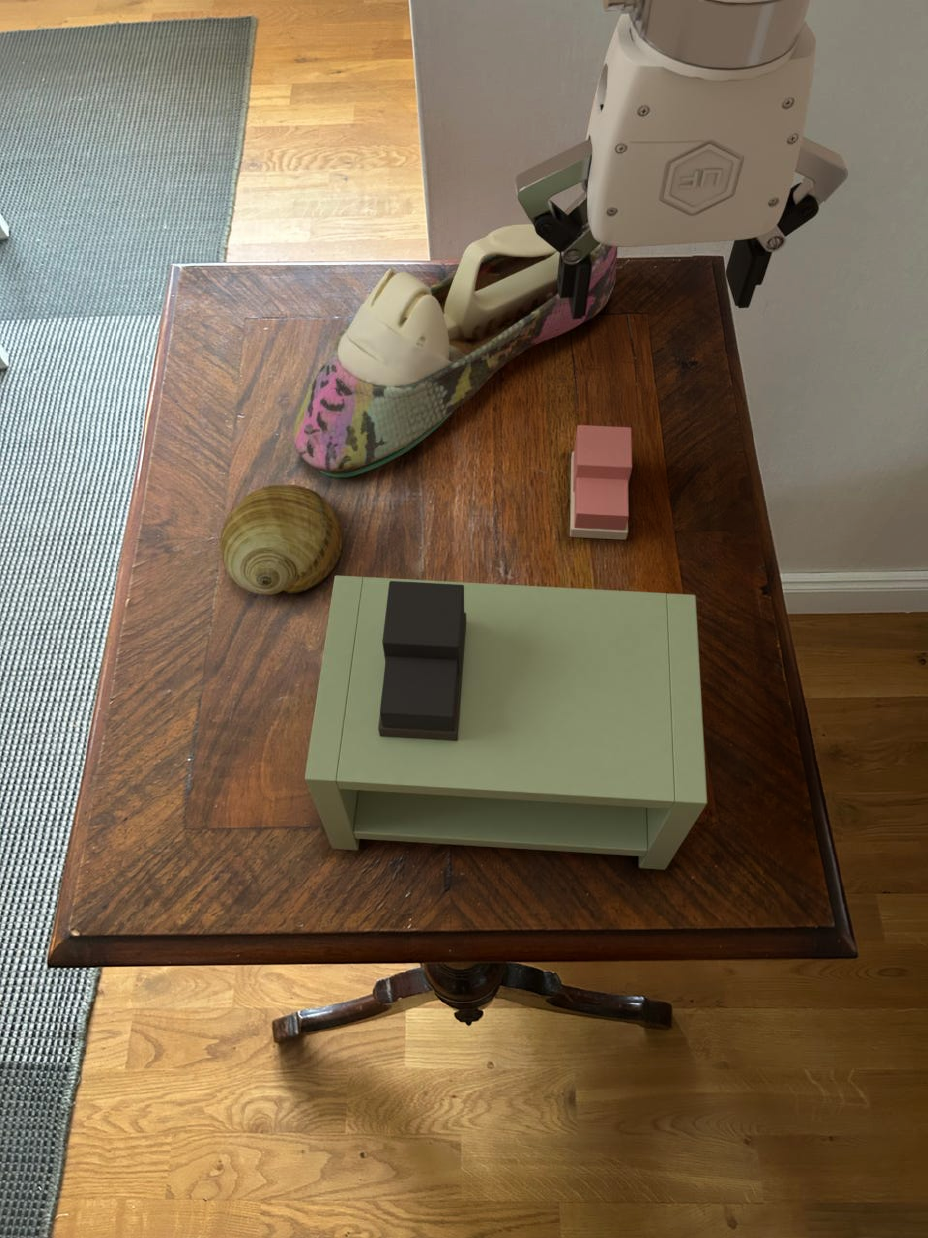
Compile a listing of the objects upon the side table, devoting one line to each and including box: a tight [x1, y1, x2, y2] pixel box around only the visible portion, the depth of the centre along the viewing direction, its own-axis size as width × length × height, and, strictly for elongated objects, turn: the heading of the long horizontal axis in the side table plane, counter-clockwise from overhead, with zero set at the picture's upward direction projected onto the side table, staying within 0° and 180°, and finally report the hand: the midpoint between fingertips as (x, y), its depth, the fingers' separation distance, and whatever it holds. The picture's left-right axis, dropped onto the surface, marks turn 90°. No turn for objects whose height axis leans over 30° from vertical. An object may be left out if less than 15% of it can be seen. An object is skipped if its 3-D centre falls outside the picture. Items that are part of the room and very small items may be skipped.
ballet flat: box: [294, 222, 619, 478], centre depth 75 cm, size 10×30×11 cm, turn 129°
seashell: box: [219, 484, 343, 596], centre depth 69 cm, size 10×7×8 cm
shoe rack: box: [304, 575, 708, 871], centre depth 58 cm, size 20×12×12 cm, turn 86°
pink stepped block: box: [569, 424, 633, 541], centre depth 72 cm, size 7×4×4 cm, turn 176°
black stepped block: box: [378, 581, 466, 741], centre depth 51 cm, size 7×4×4 cm, turn 176°
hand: (655, 296), depth 59 cm, fingers open, 9 cm apart
